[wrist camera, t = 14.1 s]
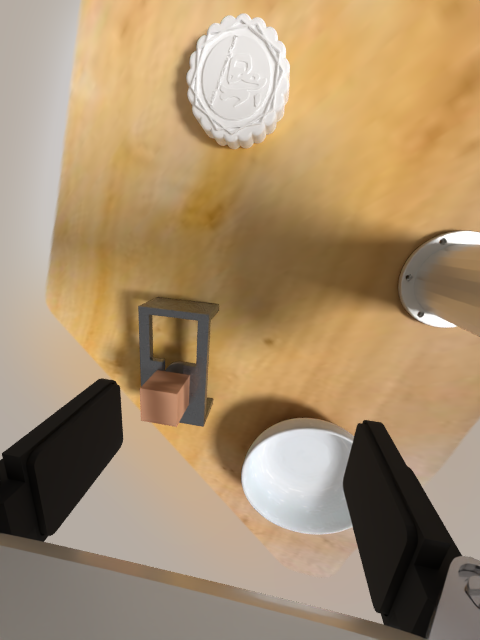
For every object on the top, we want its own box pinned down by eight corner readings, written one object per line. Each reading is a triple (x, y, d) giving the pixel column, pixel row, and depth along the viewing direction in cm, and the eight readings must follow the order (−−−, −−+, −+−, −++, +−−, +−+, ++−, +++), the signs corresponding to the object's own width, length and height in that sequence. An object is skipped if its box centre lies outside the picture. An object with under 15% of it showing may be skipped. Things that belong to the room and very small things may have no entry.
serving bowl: (223, 453, 49) (215, 485, 42) (297, 377, 42) (300, 402, 36) (310, 514, 50) (315, 555, 44) (394, 450, 44) (415, 487, 37)
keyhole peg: (197, 363, 41) (177, 393, 33) (196, 392, 43) (177, 427, 35) (166, 359, 42) (139, 387, 34) (166, 387, 43) (140, 421, 35)
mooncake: (260, 166, 35) (258, 158, 31) (180, 124, 34) (169, 112, 31) (307, 61, 31) (311, 39, 27) (216, 14, 31) (209, -14, 27)
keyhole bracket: (157, 297, 42) (138, 306, 36) (218, 304, 40) (209, 314, 35) (158, 394, 47) (142, 416, 41) (212, 403, 46) (203, 426, 40)
